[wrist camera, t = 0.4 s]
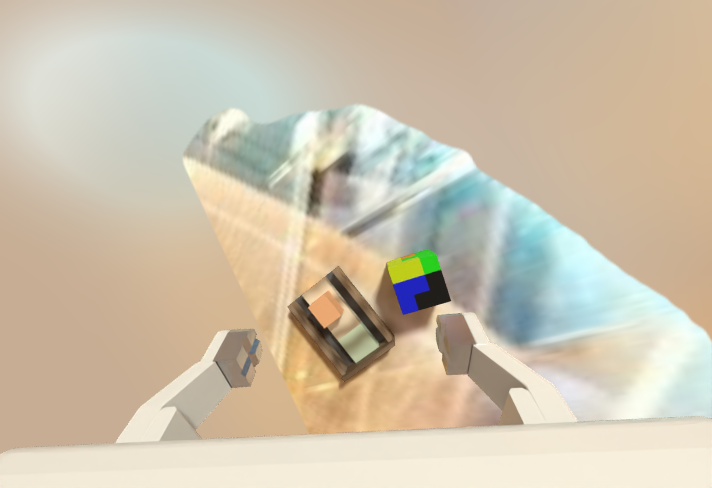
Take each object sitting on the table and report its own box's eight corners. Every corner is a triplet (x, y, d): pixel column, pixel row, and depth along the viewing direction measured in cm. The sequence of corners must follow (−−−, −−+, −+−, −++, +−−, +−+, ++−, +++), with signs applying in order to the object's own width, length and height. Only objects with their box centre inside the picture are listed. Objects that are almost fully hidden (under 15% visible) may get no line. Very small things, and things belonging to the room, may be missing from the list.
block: (344, 309, 63) (341, 315, 59) (328, 322, 64) (324, 328, 60) (328, 290, 63) (324, 294, 59) (312, 302, 64) (307, 307, 60)
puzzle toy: (400, 300, 64) (402, 314, 54) (387, 261, 63) (387, 268, 54) (440, 288, 63) (451, 301, 53) (427, 249, 62) (435, 253, 52)
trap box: (394, 336, 65) (395, 345, 60) (347, 370, 67) (344, 381, 62) (338, 266, 65) (334, 269, 60) (293, 302, 67) (285, 308, 62)
